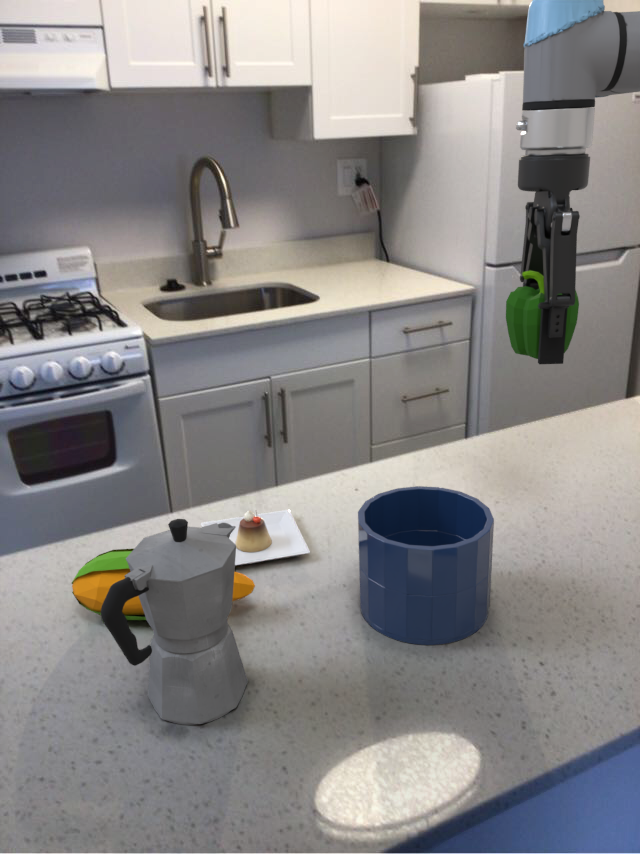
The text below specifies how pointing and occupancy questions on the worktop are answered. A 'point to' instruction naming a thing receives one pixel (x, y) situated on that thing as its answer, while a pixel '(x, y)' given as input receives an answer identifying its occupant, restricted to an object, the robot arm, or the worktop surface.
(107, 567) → the corn
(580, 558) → the worktop surface
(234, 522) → the dessert
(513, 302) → the bell pepper
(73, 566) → the worktop surface
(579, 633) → the worktop surface
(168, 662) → the coffeepot
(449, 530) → the pot
